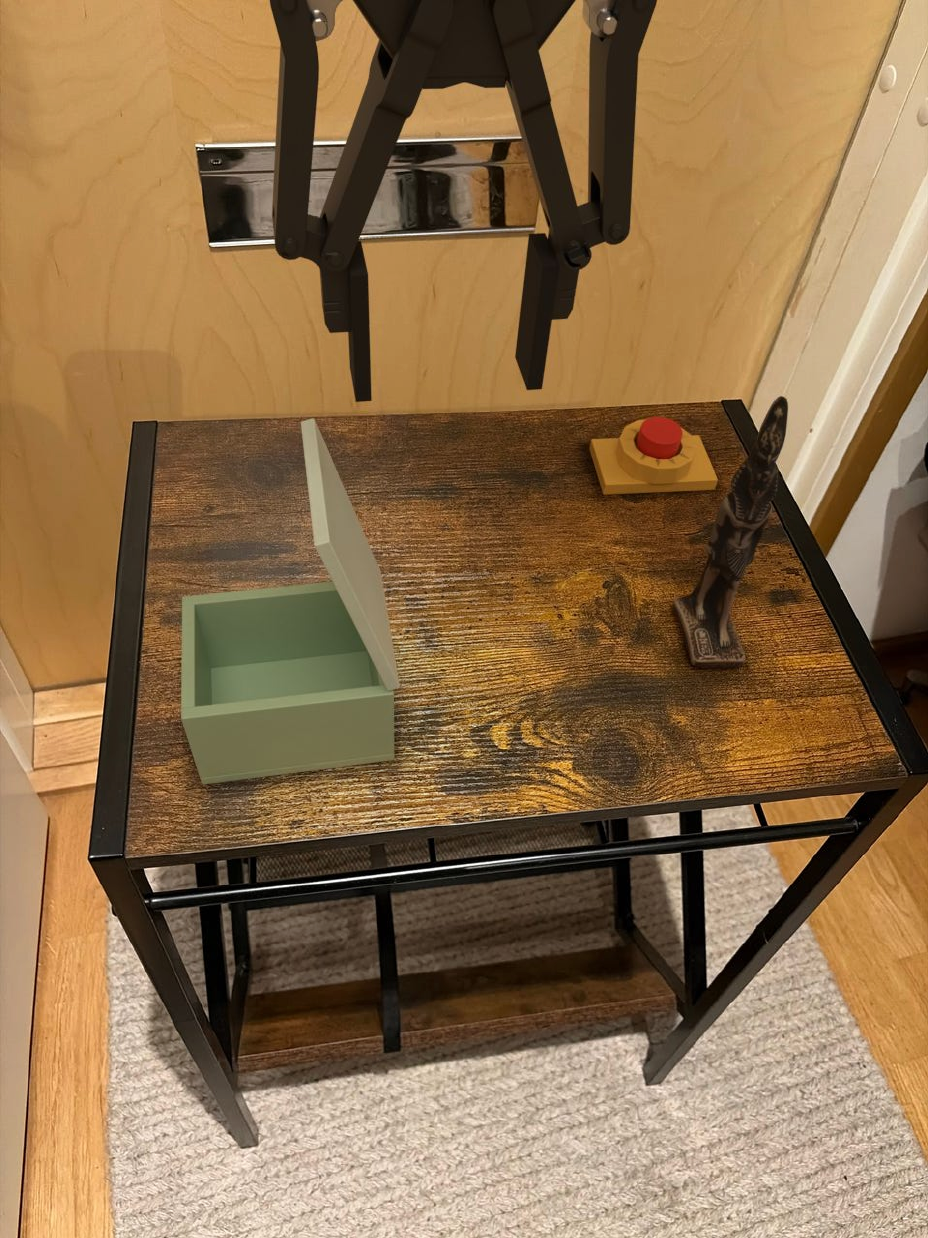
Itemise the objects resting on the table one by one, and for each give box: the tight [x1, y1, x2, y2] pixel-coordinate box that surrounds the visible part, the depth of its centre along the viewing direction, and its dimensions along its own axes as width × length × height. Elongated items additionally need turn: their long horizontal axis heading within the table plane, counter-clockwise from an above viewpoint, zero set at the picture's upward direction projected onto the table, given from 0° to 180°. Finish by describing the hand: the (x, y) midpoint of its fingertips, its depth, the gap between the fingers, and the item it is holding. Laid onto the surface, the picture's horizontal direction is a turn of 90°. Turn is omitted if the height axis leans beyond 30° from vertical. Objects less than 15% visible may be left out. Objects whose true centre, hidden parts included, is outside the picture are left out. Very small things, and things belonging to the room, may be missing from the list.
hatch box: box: [180, 581, 395, 785], centre depth 62 cm, size 13×10×8 cm
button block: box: [588, 418, 719, 496], centre depth 82 cm, size 10×6×3 cm, turn 97°
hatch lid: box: [300, 417, 401, 691], centre depth 54 cm, size 14×10×1 cm
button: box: [637, 416, 683, 459], centre depth 81 cm, size 4×4×2 cm
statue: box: [672, 395, 789, 669], centre depth 64 cm, size 4×7×20 cm, turn 6°
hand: (445, 377), depth 46 cm, fingers open, 8 cm apart
